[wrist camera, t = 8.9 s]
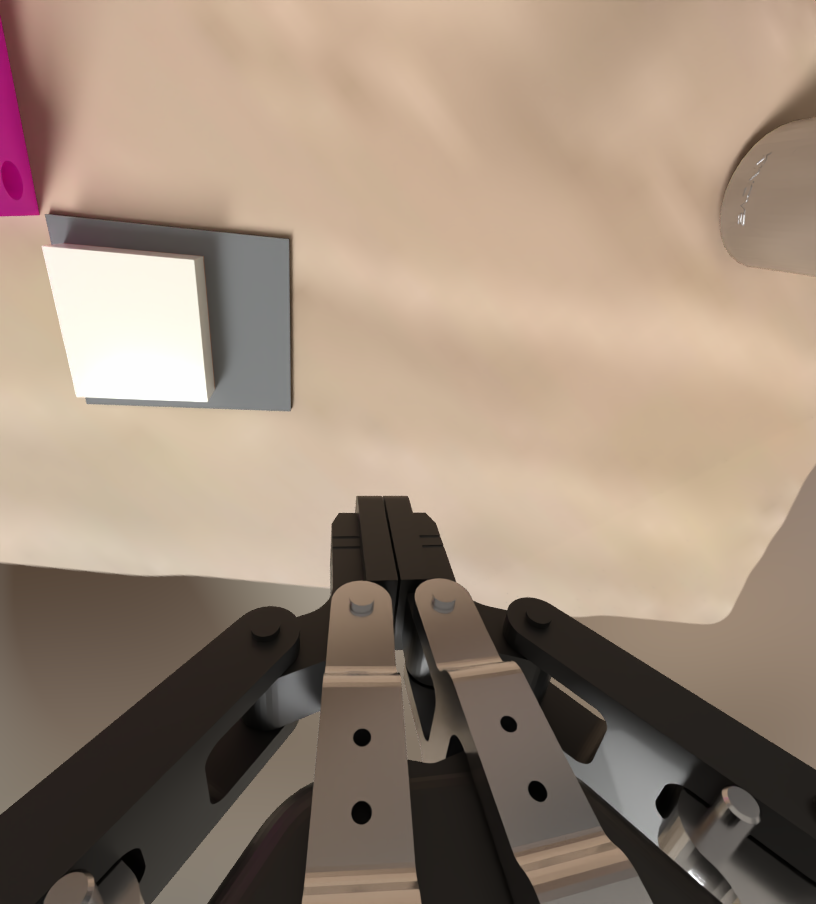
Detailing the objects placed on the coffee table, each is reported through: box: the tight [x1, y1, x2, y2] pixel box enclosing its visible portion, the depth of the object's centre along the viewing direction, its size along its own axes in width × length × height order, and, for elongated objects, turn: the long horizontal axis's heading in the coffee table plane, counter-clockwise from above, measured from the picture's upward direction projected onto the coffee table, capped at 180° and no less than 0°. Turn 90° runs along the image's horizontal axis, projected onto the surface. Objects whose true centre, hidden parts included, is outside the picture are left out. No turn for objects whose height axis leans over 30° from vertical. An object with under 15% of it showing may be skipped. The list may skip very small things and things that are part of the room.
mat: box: [45, 214, 291, 411], centre depth 32 cm, size 14×12×1 cm
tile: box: [42, 243, 215, 402], centre depth 30 cm, size 2×9×8 cm
